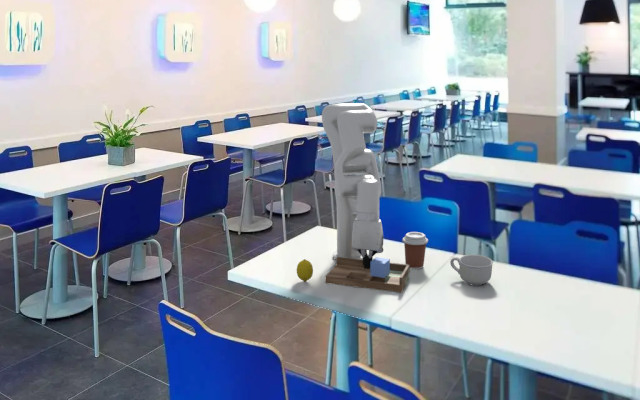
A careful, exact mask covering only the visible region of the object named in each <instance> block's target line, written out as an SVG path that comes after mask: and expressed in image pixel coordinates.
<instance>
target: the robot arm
mask: <svg viewBox="0 0 640 400" xmlns="http://www.w3.org/2000/svg"><path fill="white" fill-rule="evenodd" d="M321 121H322V126H323V130H324V132H325V134H326V137H327V138H328V141H329V144H330V148H331V155H332V160H333V165H334V170H333V171H334V172H333V174H334V175H333V176H334V181H335V182H334V185H333V187H334V195H335V203H336V251H334V252H333V254H332V256H333V258H334V260H336V261H337V257H343V258H352V259H361V260H363V265H364V269H366V268H367V269H369V268H370V262H371V261H372V260H373V259H374V256H375V255H376V254H382V253H383V252H384V247H383V246H384V231H383V224H382V220H381V219H380V197H381V194H382V181H381V178H380V173H379V169H378V163H377V159H376V155H375V153H374V151H372V150H371V149H368V148H367V146H366V145H367V144H366V141H365V137H364V134H371V133H374V132H375V131H376V130H377V127H378V119H377V116H376V114H375V112H374V111H373V109H371V108H370V107H369V106H368V105H367V104H365V103H361V102H360V103H359V102H356V103H355V102H354V103H332V104H328V105H326V106H325V107H324V108H323V109H322V111H321Z"/></svg>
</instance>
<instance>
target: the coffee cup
mask: <svg viewBox="0 0 640 400" xmlns="http://www.w3.org/2000/svg"><path fill="white" fill-rule="evenodd" d="M402 242H403V244H404V245H403V246H404V260H405V263H404V264H408V265H410V270H421V269H423V268H424V267H423V266H424V265H425V258H426V257H425V255H426V246H427V244H428V242H429V239H428V238H427V237H426V234H424V233H423V232H418V231H410V232H407V233H406V234H405V235H404V237H402ZM420 268H421V269H420Z"/></svg>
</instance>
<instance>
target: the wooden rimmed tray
mask: <svg viewBox="0 0 640 400" xmlns="http://www.w3.org/2000/svg"><path fill="white" fill-rule="evenodd" d="M410 270H411V269H410V265H408V264H406V263H398V262H390V273H389V274H388V275H387V276H386V277H385V278H381V277H375V276H370V268H369V269H367V268H366V269H364V265H363V260H361V259H352V258H343V257H337V260H336V264H335V265H334V266H333V267H332V269H331V270H330V271H329V272H328V273H327V274H326V275H325V276H324V277H325V278H324V279H325V284H329V285H330V284H331V285H339V286H346V287H347V286H348V287H355V288H364V289H372V290H379V291H387V292H396V293H403V291H404V289H405V287H406V285H407V283H408V282H409V280H410V273H411V272H410Z"/></svg>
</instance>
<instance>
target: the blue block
mask: <svg viewBox="0 0 640 400" xmlns="http://www.w3.org/2000/svg"><path fill="white" fill-rule="evenodd" d="M390 263H391V259H390V258H385V257H384V258H383V257H378V256H375V258H374V257H373V260H372V261H371V262H370V276H375V277H381V278H385V277H386V276H387V275H388V274H389V273H390Z"/></svg>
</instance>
